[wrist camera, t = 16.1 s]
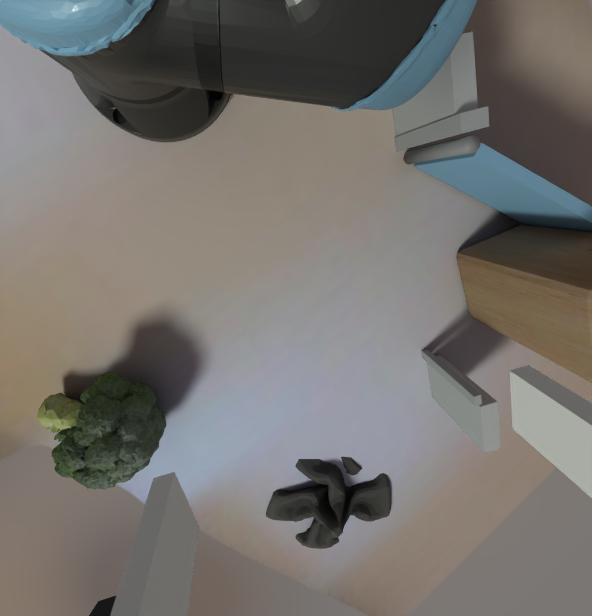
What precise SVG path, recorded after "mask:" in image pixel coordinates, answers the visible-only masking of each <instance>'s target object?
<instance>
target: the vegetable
mask: <svg viewBox="0 0 592 616" xmlns="http://www.w3.org/2000/svg"><path fill="white" fill-rule="evenodd" d="M80 399H81V400H82V402H84V403H85V404H81V403H80V402H79V401H77V400H73V399H70V398H67V397H66V396H65V395H64V394H62V393H58V394H56V395H50V396H49V397H48V398H46V399H45V400H44V402H43V403H42V405H41V407H40V408H39V411H38V417H37V419H38V420H39V421H40V423H41V424H42V425H43V426H44V427H46V428H47V429H49V428H50V429H51V431H52V432H53V433H54V432H58V431H59V430H61V431H60V432H59V433H58V434H57V435H56V436H55V438H54V440H56V439H59V440H58V442H59V441H62V442H61V443H60V444H59V445H58V446H57V447H55V448H54V449H53V450H52V457H53V460H54V463H56V466H55V471H56V472H57V473H58V474H60V475H61V476H62V477H68V478H69V477H70V478H73V479H75V480H76V481H77V482H79V483H80V484H82V485H84V486H86V487H87V488H92V489H97V488H100V489H107V488H110V487H114V486H115V484H117V483H120V482H126V481H128V480H130V479H131V478H132V477H133V476H134V475H135V473H137V472H138V471H140V470H142V469H143V468H145V467H146V466H147V465H148V464H149V462H150V458H151V457H152V455H153V453H154V452H155V451H156V450H157V449H158V447H159V440H160V438H161V437H162V435H163V432H164V429H165V427H166V420H165V415H164V413H163V412H162V411H161V410H160V408H158V407H157V406H156V405H155V402H156V397H155V393H154V390H153V389H152V388H151V387H150V386H149V385H147V384H144V383H139V382H135V381H134V382H129V380H128V378H125V377H122V376H120V377H119V376H118V375H117V374H116V373H114V372H109V373H106V374H105V375H102V376H100V377H98V378H97V379H96V380H95V381H94V383H93V385H92V386H90V387H89V388H86V389H84V391H83V392H82V393H81V397H80Z"/></svg>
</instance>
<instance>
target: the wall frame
mask: <svg viewBox="0 0 592 616" xmlns="http://www.w3.org/2000/svg"><path fill="white" fill-rule="evenodd" d="M392 109H393V116H394V124H395V131H396V137H395V143H396V150H397V151H400V150H404V149H408V148H412V147H415V146H419V145H423V144H426V143H430V142H434V141H438V140H441V139H445V138H449V137H452V136H456V135H460V134H463V133H467V132H471V131H474V130H478V129H482V128H485V127H489V111H488V106H486V107H482V108H479V109H478V100H477V85H476V70H475V55H474V40H473V31H472V32H468V33H464V34H462V35H461V37H460V38H459V40H458V42H457V44H456V45H455V47H454V49H453V50H452V52H451V54H450V55H449V57H448V58H447V60H446V61H445V63H444V64H443V66H442V67H441V68H440V70H439V71H438V72H437V74H436V75H435V76H434V77H433V79H432V80H431V81H430V82H429V83H428V84H427V85H426V86H425V87H424V88H423V89H422V90H421V91H420V92H419V93H418V94H417V95H416V96H414V97H413V98H412V99H410V100H409V101H407V102H406V103H404V104H402V105H400V106H398V107H396V108H392ZM422 357H423V359H424V360H425V361H426V362H427V363H428V370H429V377H430V384H431V392H432V397H433V399H434V400H435V401H436V402H437V403H438V404H439V405H440V406H441V407H442V408H443V409H444V410H445V412H446V413H447V414H448V415H449V416H450V417H451V418H452V419H453V420H454V421H455V422H456V423H457V425H458V426H459V427H460V428H461V429H462V430H463V431H464V432H465V433H466V434H467V435H468V436H469V438H470V439H471V440H472V441H473V442H474V443H475V444H476V445H477V446H478V447H479V448H480V449H481V451H482V452H483V453H484V454H485V453H488V452H491V451H494V450H498V449H501V447H500V432H499V417H498V402H497V401H496V400H495V399H494V398H492V397H491V396H490V395H489V394H488V393H486V392H485V391H484V390H483V389H482V388H480V387H479V386H478V385H477V384H475V383H474V382H473V381H472V380H471V379H469V378H468V377H467V376H466V375H464V374H463V373H462V372H461V371H460V370H458V369H457V368H456V367H455V366H454V365H452V364H451V363H450V362H449V361H447V360H446V359H445V358H444V357H443V356H441V355H438V356H435V355H434V354H432V353H431V352H430V351H429V350H428V349H425V350H422Z"/></svg>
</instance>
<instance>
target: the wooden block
mask: <svg viewBox="0 0 592 616" xmlns="http://www.w3.org/2000/svg"><path fill="white" fill-rule="evenodd" d="M457 261H458V266H459V270H460V275H461V279H462V283H463V288H464V292H465V296H466V301H467V305H468V310H469V313H470V315H471V316H472V317H473V318H474V319H476V320H478V321H479V322H481V323H483V324H485V325H487V326H489V327H490V328H492V329H494V330H496V331H498V332H500V333H501V334H503V335H505V336H507V337H509V338H511V339H512V340H514V341H516V342H518V343H520V344H522V345H523V346H525V347H527V348H529V349H531V350H533V351H534V352H536V353H538V354H540V355H542V356H544V357H545V358H547V359H549V360H551V361H553V362H555V363H556V364H558V365H560V366H562V367H564V368H566V369H567V370H569V371H571V372H573V373H575V374H577V375H578V376H580V377H582V378H584V379H586V380H588V381H589V382H591V383H592V232H587V231H578V230H569V229H560V228H551V227H542V226H533V225H520V226H518V227H515V228H513V229H510V230H508V231H506V232H503V233H501V234H498V235H496V236H494V237H491V238H489V239H486V240H484V241H482V242H479V243H477V244H474V245H472V246H470V247H467V248H465V249H462V250H460V251H459V252H458V253H457Z"/></svg>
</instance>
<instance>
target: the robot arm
mask: <svg viewBox="0 0 592 616" xmlns="http://www.w3.org/2000/svg"><path fill="white" fill-rule="evenodd" d="M477 1H478V0H0V25H1V26H3V27H4V28H5V29H6V30H7V31H9V32H10V33H11V34H13V35H14V36H16V37H18V38H19V39H21V40H22V41H23V42H24V43H29V44H30V45H31V46H33V47H34V48H36V49H39V50H41V51H42V52H44V53H45V54H46V55H48V56H49V57H51V58H52V59H54V60H55V61H57V62H58V63H60V64H61V65H62V66H64V67H65V68H67V69H68V70H70V71H71V72H72V74H73V76H74V78H75V80H76V82H77V84H78V85H79V87H80V89H81V90H82V92H83V93H84V95H85V96H86V97H87V99H88V100H89V101H90V102H91V103H92V105H93V106H94V107H95V108H96V109H97V110H98V111H99V112H100V113H101V114H102V115H103V116H104V117H106V118H107V119H108V120H109V121H111V122H112V123H114V124H115V125H116V126H118V127H120V128H121V129H123V130H125V131H127V132H129V133H131V134H133V135H135V136H138V137H140V138H143V139H147V140H151V141H157V142H176V141H181V140H185V139H188V138H191V137H193V136H195V135H197V134H199V133H201V132H203V131H204V130H205V129H207V128H208V127H209V126H210V125H211V124H212V123H213V122H214V121H215V120H216V119H217V118H218V117H219V115H220V114H221V112H222V111H223V109H224V107H225V105H226V103H227V101H228V99H229V96H230V94H238V95H246V96H254V97H262V98H269V99H277V100H285V101H293V102H301V103H308V104H316V105H324V106H331V107H332V108H334V109H336V110H340V111H345V110H350V111H351V110H354V109H371V110H387V109H392V108H396V107H398V106H400V105H402V104H404V103H406V102H407V101H409V100H410V99H412V98H413V97H414V96H416V95H417V94H418V93H419V92H420V91H421V90H422V89H423V88H424V87H425V86H426V85H427V84H428V83H429V82H430V81H431V80H432V79H433V77H434V76H435V75H436V74H437V72H438V71H439V70H440V68H441V67H442V66H443V64H444V63H445V61H446V60H447V58H448V57H449V55H450V54H451V52H452V50H453V49H454V47H455V45H456V44H457V42H458V40H459V38H460V37H461V35H462V33H463V31H464V29H465V27H466V25H467V23H468V21H469V19H470V17H471V15H472V12H473V10H474V8H475V5H476V3H477ZM510 383H511V403H512V423H513V429H514V430H515V431H516V432H517V433H518V434H520V435H521V436H522V437H523V438H524V439H525V440H526V441H527V442H529V443H530V444H531V445H532V446H533V447H534V448H535V449H537V450H538V451H539V452H540V453H541V454H542V455H543V456H545V457H546V458H547V459H548V460H549V461H550V462H551V463H553V464H554V465H555V466H556V467H557V468H558V469H560V470H561V471H562V472H563V473H564V474H565V475H566V476H567V477H569V478H570V479H571V480H572V481H573V482H574V483H575V484H577V485H578V486H579V487H580V488H581V489H582V490H583V491H585V492H586V493H587V494H588V495H589V496H590V497H591V498H592V403H590V402H588V401H587V400H585V399H583V398H582V397H580V396H578V395H577V394H575V393H573V392H572V391H570V390H569V389H567V388H565V387H564V386H562V385H560V384H559V383H557V382H555V381H554V380H552V379H550V378H549V377H547V376H545V375H544V374H542V373H540V372H539V371H537V370H535V369H534V368H532V367H530V366H529V365H528V366H524V367H521V368H518V369H514V370H511V371H510ZM198 532H199V525H198V522H197V520H196V518H195V516H194V514H193V512H192V509H191V507H190V505H189V503H188V501H187V499H186V496H185V494H184V492H183V490H182V488H181V485H180V483H179V481H178V479H177V477H176V475H175V472H173V473H170V474H166V475H163V476H160V477H156V478H154V479H153V482H152V485H151V488H150V491H149V495H148V498H147V501H146V504H145V507H144V510H143V514H142V517H141V520H140V523H139V526H138V530H137V533H136V536H135V539H134V542H133V545H132V549H131V552H130V555H129V558H128V561H127V564H126V567H125V570H124V574H123V577H122V580H121V583H120V586H119V589H118V593H117V596H113V597H110V598H107V599H104V600H101V601H98V603H97V604H96V606H95V607H94V609H93V610H92V612H91V613H90V615H89V616H187V614H188V606H189V599H190V591H191V584H192V576H193V569H194V562H195V554H196V546H197V539H198Z"/></svg>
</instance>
